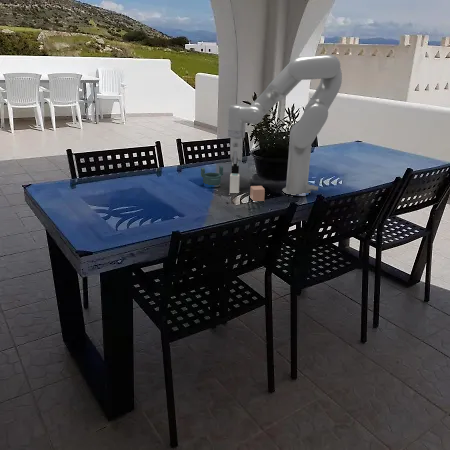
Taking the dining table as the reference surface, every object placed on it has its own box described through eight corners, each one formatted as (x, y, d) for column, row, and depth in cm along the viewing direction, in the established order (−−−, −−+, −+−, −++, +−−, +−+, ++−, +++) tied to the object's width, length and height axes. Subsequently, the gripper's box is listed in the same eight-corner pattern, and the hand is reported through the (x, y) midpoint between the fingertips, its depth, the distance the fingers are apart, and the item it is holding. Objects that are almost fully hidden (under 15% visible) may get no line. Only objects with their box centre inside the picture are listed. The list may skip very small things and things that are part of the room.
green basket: (199, 186, 205) (199, 168, 202) (209, 181, 213) (209, 163, 209) (216, 189, 202) (216, 170, 198) (225, 184, 209) (225, 166, 206)
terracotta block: (260, 198, 190) (261, 185, 188) (264, 202, 186) (264, 189, 183) (249, 199, 189) (250, 186, 187) (252, 203, 185) (253, 189, 183)
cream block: (238, 193, 197) (239, 173, 194) (238, 195, 193) (239, 175, 190) (230, 192, 197) (230, 173, 194) (229, 195, 194) (230, 175, 190)
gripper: (244, 137, 185) (242, 179, 192) (245, 131, 199) (243, 170, 206) (227, 136, 185) (225, 178, 192) (228, 130, 199) (227, 169, 206)
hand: (235, 174), depth 199 cm, fingers closed
